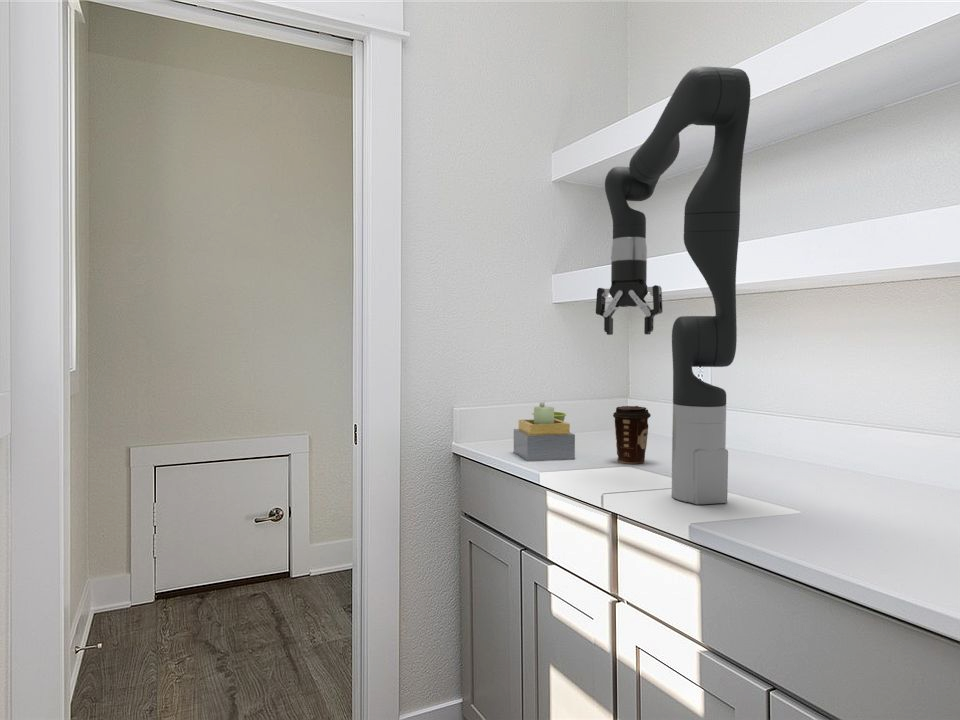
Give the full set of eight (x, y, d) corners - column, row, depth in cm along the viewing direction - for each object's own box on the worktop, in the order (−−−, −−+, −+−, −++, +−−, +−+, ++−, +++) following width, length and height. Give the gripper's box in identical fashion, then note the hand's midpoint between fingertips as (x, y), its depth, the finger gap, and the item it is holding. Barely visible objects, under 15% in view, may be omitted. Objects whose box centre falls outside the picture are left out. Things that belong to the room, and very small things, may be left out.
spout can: (556, 445, 157) (557, 402, 157) (537, 445, 156) (538, 403, 155) (549, 441, 162) (549, 400, 162) (530, 442, 161) (531, 400, 160)
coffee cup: (647, 458, 155) (647, 405, 155) (653, 465, 147) (653, 409, 147) (611, 458, 156) (611, 405, 156) (614, 464, 148) (615, 408, 148)
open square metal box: (574, 459, 155) (574, 424, 155) (527, 461, 152) (527, 425, 152) (557, 450, 167) (558, 418, 166) (513, 452, 164) (513, 419, 164)
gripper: (666, 259, 139) (665, 334, 139) (604, 263, 146) (603, 334, 147) (656, 256, 132) (655, 334, 133) (591, 260, 140) (591, 334, 140)
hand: (628, 334), depth 140 cm, fingers open, 8 cm apart
